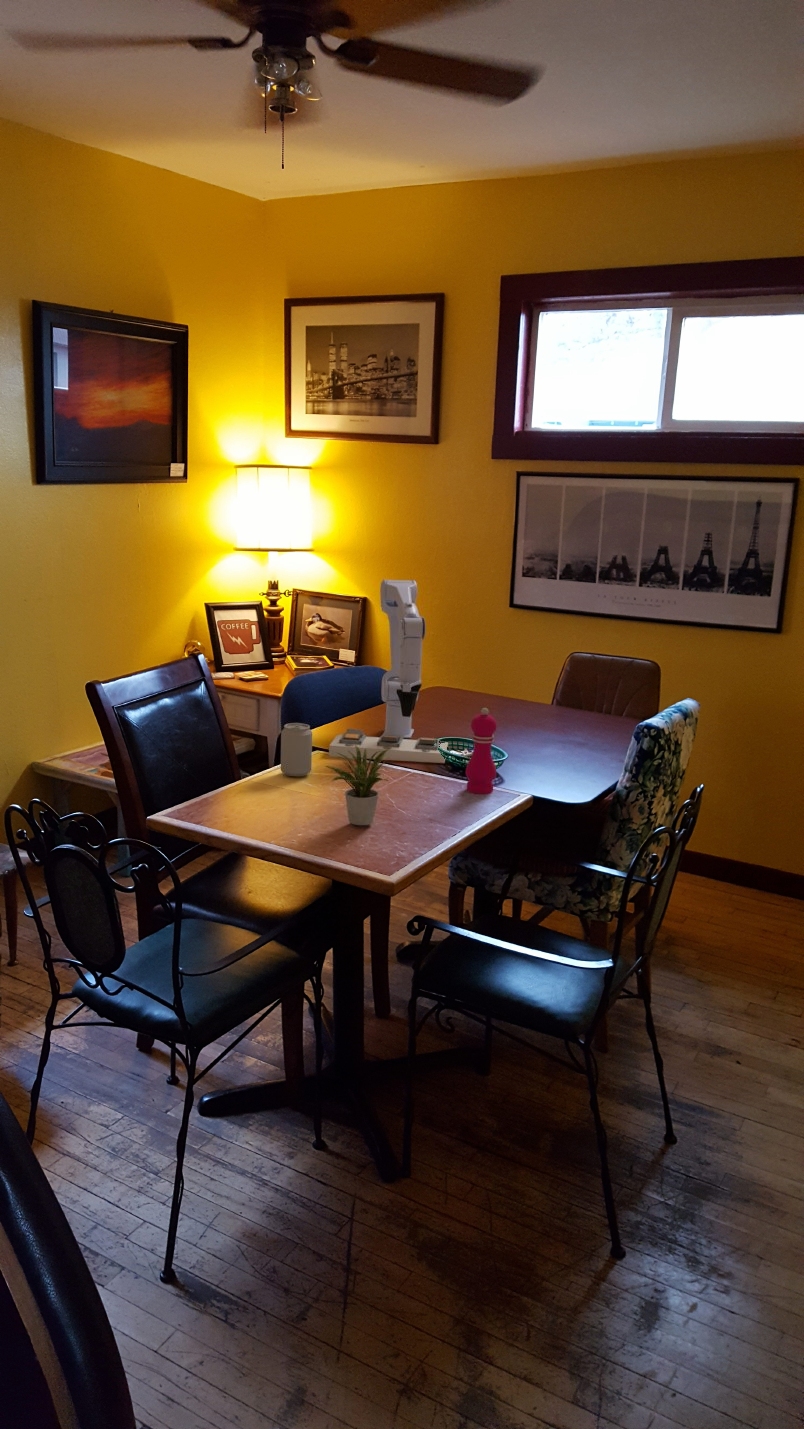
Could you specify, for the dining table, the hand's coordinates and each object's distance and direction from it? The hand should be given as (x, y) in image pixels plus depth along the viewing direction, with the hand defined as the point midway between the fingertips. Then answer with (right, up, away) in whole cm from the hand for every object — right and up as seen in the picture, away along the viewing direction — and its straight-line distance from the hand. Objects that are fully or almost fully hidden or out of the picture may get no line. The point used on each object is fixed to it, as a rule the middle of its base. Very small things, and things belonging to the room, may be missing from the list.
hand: (408, 713), depth 271 cm
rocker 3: (+5, -7, -3) cm, 9 cm away
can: (-28, -15, -22) cm, 38 cm away
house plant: (-10, -23, -54) cm, 60 cm away
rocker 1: (-15, -6, -1) cm, 16 cm away
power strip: (+1, -11, -3) cm, 12 cm away
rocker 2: (-5, -7, -2) cm, 8 cm away
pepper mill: (+17, -18, -30) cm, 39 cm away
